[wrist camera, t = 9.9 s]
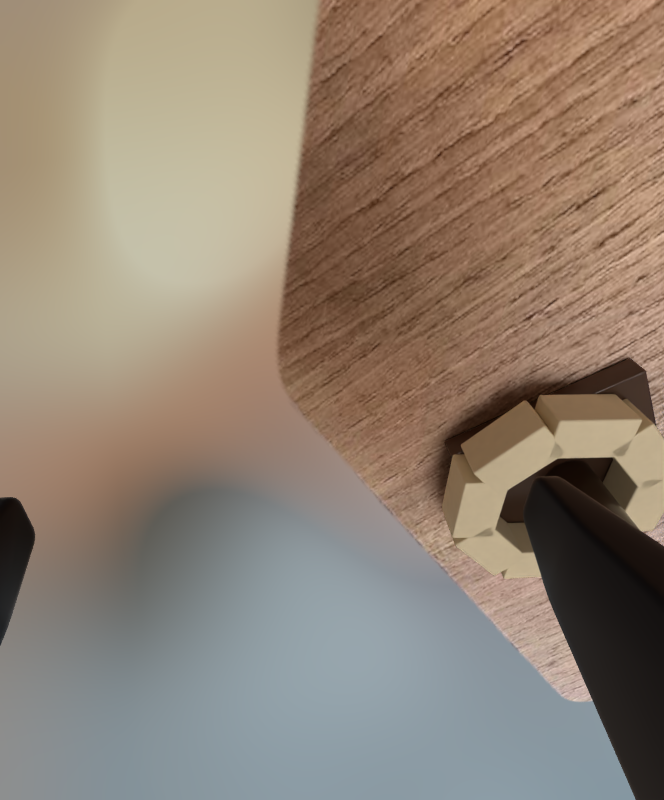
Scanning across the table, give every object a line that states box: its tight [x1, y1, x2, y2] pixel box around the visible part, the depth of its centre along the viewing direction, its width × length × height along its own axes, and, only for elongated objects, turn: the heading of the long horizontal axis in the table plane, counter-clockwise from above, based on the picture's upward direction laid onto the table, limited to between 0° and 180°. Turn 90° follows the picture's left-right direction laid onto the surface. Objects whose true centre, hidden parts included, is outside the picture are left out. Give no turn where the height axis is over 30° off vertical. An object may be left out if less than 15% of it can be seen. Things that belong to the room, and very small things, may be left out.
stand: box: [445, 358, 656, 529], centre depth 22 cm, size 9×9×6 cm
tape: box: [442, 394, 664, 579], centre depth 22 cm, size 10×10×2 cm
